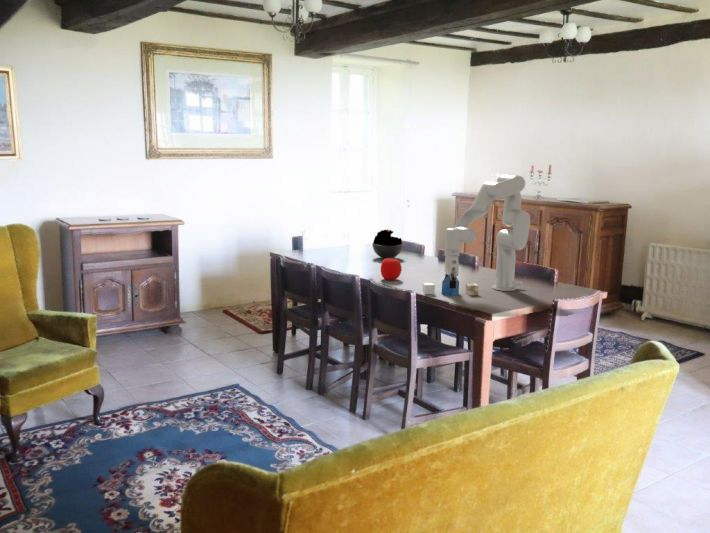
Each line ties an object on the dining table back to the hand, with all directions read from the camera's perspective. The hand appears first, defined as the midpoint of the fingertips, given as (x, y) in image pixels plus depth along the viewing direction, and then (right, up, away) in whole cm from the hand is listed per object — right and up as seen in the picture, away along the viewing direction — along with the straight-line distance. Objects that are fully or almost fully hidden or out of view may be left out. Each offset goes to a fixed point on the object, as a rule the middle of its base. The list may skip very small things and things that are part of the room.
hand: (450, 286), depth 323 cm
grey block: (-11, -4, +1) cm, 12 cm away
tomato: (-29, +2, +31) cm, 42 cm away
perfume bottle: (0, -4, +1) cm, 4 cm away
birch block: (+11, -4, +1) cm, 12 cm away
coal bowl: (-27, +15, +96) cm, 100 cm away
